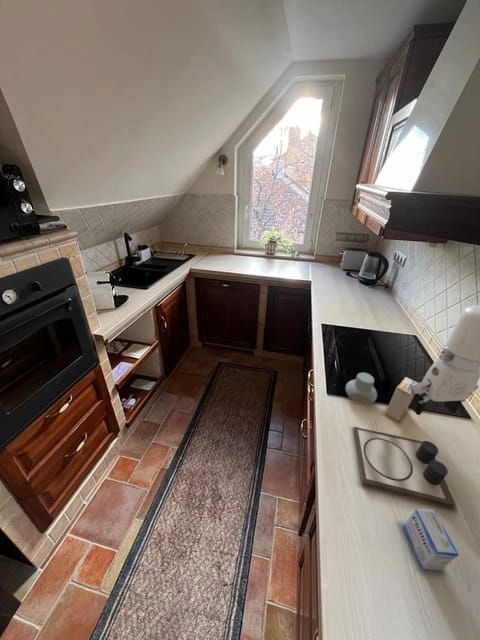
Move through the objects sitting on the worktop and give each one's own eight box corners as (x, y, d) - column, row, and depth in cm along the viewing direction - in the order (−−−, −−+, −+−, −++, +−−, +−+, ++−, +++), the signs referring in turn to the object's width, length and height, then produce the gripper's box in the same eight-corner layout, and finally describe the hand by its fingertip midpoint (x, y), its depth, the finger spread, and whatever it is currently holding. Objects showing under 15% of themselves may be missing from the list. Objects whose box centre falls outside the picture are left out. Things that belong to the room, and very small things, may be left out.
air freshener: (374, 394, 98) (382, 375, 94) (374, 410, 92) (382, 389, 87) (345, 385, 102) (350, 366, 98) (342, 399, 96) (349, 379, 91)
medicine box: (401, 526, 61) (414, 507, 57) (420, 526, 61) (434, 508, 57) (421, 570, 54) (437, 553, 50) (442, 571, 54) (460, 554, 50)
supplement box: (398, 422, 87) (412, 395, 81) (384, 413, 90) (396, 386, 84) (407, 410, 92) (420, 383, 86) (393, 402, 95) (405, 376, 89)
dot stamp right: (436, 472, 71) (444, 462, 68) (442, 487, 68) (450, 476, 65) (420, 468, 72) (427, 458, 69) (425, 483, 68) (433, 472, 66)
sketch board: (427, 445, 80) (429, 442, 79) (453, 508, 65) (456, 505, 64) (353, 429, 84) (354, 426, 84) (361, 484, 69) (363, 481, 68)
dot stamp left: (428, 453, 76) (435, 442, 74) (433, 465, 73) (440, 455, 70) (413, 449, 77) (419, 439, 74) (418, 462, 73) (424, 451, 71)
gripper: (439, 370, 54) (410, 423, 63) (511, 367, 56) (474, 419, 64) (415, 349, 61) (392, 400, 69) (480, 347, 62) (450, 397, 71)
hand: (431, 409), depth 67 cm, fingers open, 9 cm apart
